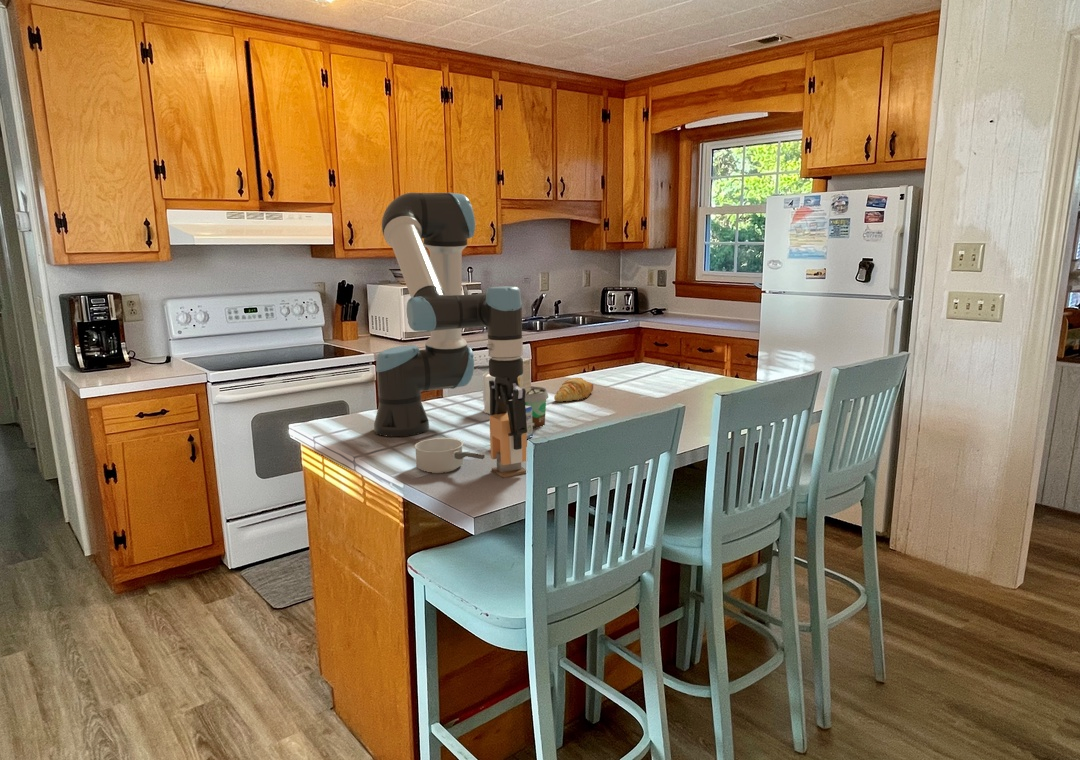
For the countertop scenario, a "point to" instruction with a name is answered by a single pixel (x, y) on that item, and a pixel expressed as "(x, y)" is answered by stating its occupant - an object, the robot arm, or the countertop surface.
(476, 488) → the countertop surface
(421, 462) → the saucepan
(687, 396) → the countertop surface
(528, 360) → the supplement box
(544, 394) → the food container
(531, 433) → the medicine box
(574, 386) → the croissant
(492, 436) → the tall orange brick
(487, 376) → the white squeeze bottle
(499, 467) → the sponge on coaster
